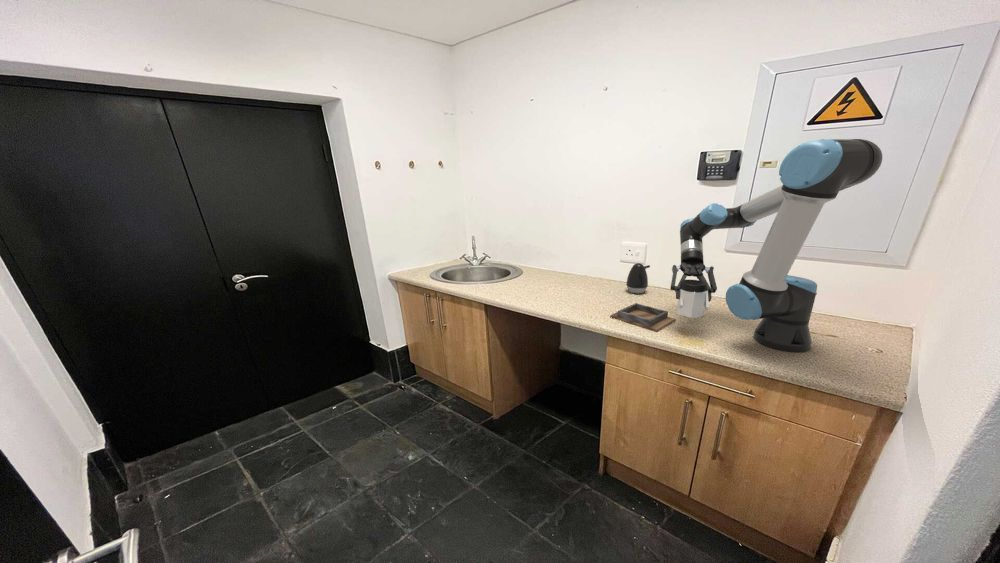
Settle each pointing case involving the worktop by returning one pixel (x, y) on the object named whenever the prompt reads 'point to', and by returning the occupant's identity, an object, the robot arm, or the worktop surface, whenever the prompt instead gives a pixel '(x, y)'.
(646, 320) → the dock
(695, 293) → the jar
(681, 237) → the robot arm
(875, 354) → the worktop surface
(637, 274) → the pump dispenser
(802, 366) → the worktop surface
